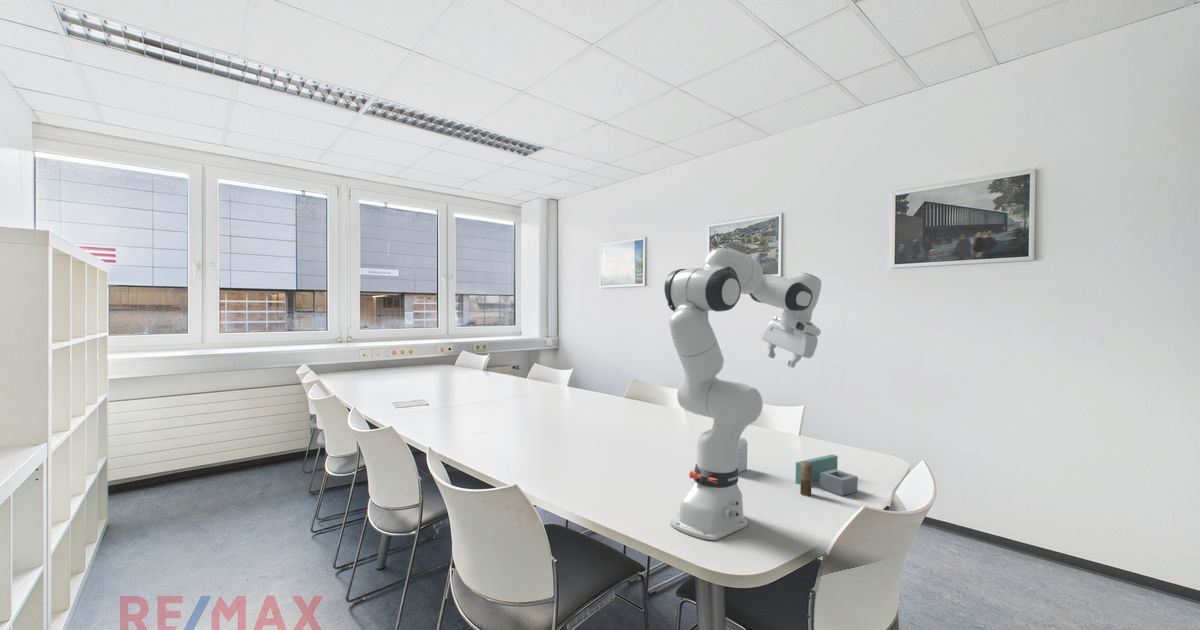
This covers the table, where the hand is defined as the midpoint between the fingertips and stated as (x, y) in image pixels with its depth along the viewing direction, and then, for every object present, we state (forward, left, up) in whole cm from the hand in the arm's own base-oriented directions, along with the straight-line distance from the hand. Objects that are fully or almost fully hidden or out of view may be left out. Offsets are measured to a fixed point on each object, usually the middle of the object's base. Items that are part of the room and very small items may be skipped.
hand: (780, 362), depth 156 cm
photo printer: (+6, +17, -42) cm, 46 cm away
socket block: (+12, -16, -42) cm, 46 cm away
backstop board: (+18, -7, -42) cm, 46 cm away
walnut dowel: (+1, -9, -42) cm, 43 cm away
